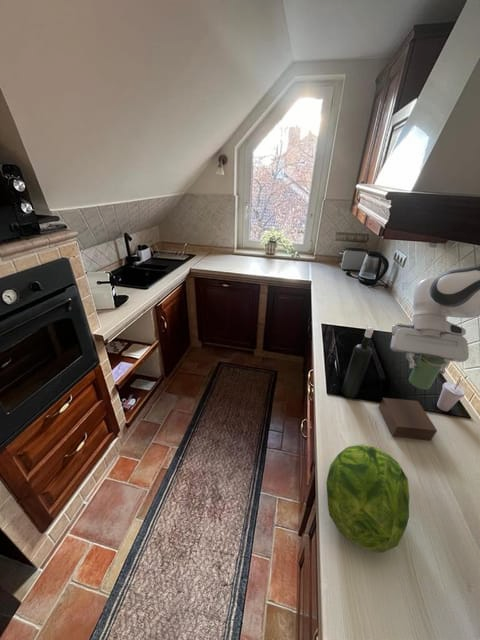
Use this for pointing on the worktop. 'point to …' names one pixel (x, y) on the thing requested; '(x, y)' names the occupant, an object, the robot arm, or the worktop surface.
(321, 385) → the worktop surface
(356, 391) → the wine bottle
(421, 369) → the green tin
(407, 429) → the walnut block
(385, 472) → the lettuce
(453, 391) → the smoothie
